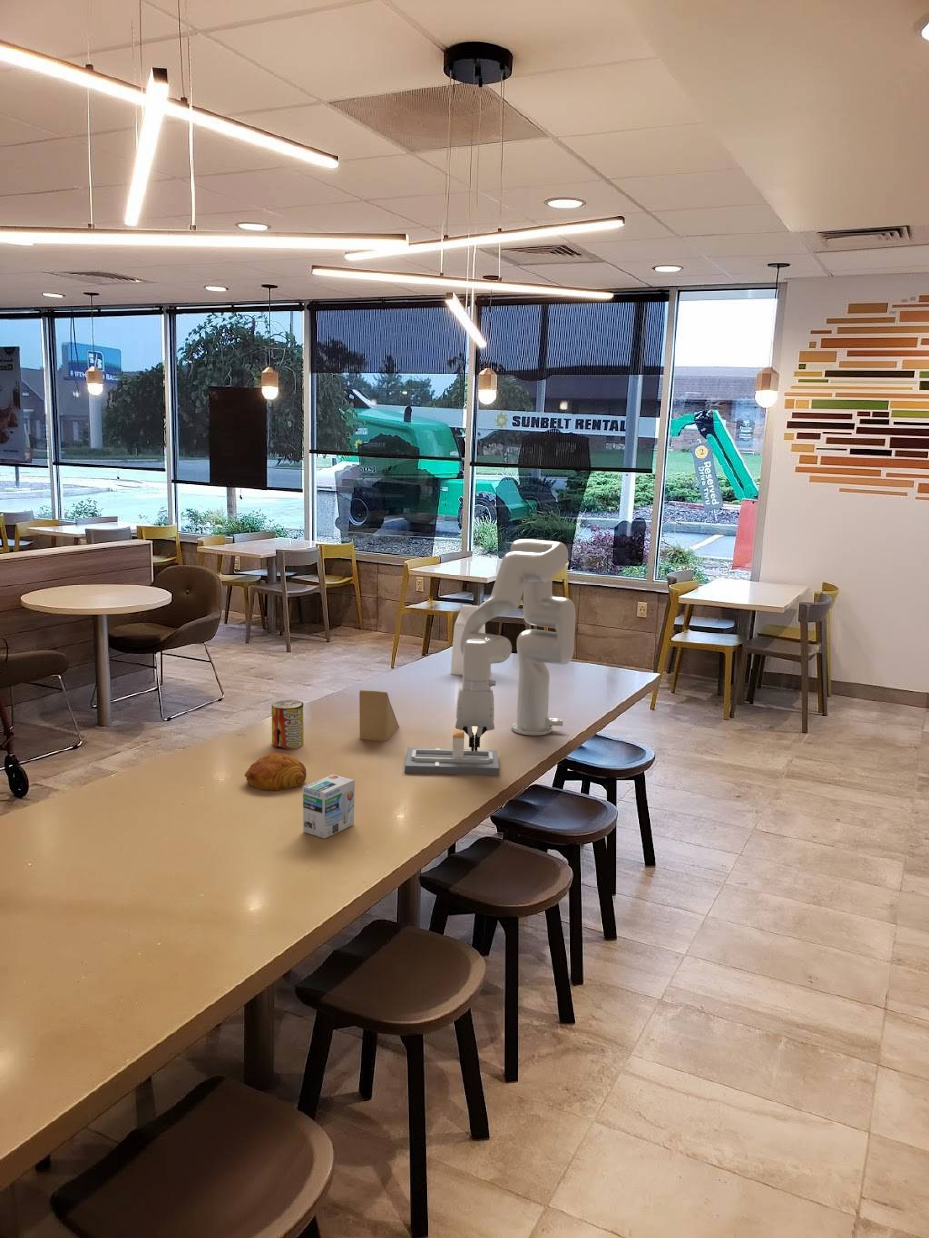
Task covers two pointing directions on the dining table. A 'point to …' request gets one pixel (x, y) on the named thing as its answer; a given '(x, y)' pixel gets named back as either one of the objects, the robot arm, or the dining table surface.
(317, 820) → the light bulb box
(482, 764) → the board
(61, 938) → the dining table surface
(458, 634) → the white tall block
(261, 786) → the croissant
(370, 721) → the sandwich container
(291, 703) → the beverage can
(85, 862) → the dining table surface
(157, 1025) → the dining table surface
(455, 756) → the fader knob
